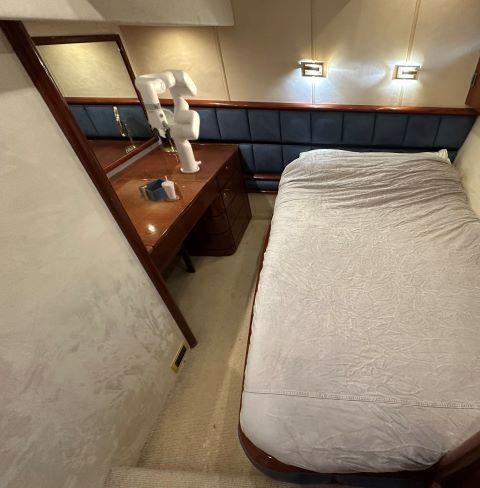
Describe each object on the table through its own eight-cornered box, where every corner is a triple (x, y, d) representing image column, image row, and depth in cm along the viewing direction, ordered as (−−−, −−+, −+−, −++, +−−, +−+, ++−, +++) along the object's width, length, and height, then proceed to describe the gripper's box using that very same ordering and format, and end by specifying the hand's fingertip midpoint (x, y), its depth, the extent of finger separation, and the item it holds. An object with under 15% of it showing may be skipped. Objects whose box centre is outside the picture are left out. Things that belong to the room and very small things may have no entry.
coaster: (173, 194, 165) (173, 193, 165) (182, 197, 163) (182, 196, 162) (163, 199, 160) (162, 198, 159) (171, 202, 157) (171, 202, 157)
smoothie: (180, 195, 164) (172, 174, 155) (175, 200, 159) (168, 179, 150) (169, 194, 163) (161, 173, 154) (164, 200, 158) (156, 178, 149)
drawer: (162, 186, 172) (158, 174, 166) (176, 191, 168) (172, 179, 162) (139, 197, 160) (134, 184, 155) (153, 202, 156) (148, 190, 151)
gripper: (169, 107, 144) (179, 139, 155) (148, 102, 150) (159, 133, 161) (157, 110, 139) (168, 143, 150) (136, 105, 144) (147, 137, 155)
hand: (163, 138), depth 155 cm, fingers open, 9 cm apart
